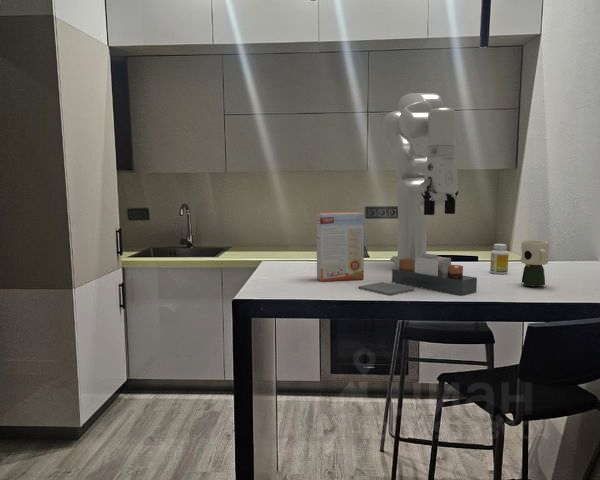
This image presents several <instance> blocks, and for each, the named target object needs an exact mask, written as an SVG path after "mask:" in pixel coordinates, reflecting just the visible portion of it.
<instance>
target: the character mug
mask: <svg viewBox="0 0 600 480" xmlns="http://www.w3.org/2000/svg"><path fill="white" fill-rule="evenodd" d="M549 246H550V242H549V241H545V240H536V239H535V240H531V239H530V240H522V241H521V247H520V249H521V257H520V261H521V263H522V264H523V265H524V264H525V265H524V267H523V273H522V278H521V285H523V286H528V287H535V288H537V287H538V286H545V285H546V277H545V276H546V275H545V268H544V266H543V265H548V263H549V249H550V247H549Z"/></svg>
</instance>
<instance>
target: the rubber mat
mask: <svg viewBox="0 0 600 480" xmlns="http://www.w3.org/2000/svg"><path fill="white" fill-rule="evenodd" d="M358 288H359V290H362V289H364V290H363V291H367V290H369V291H368V292H372V291H373V292H372V293H376V292H377V293H376V294H381V293H382V295H385V294H386V296H390V295H391V296H394V294H396V295H399V294H398V293H401V294H404V293H403V292H405V293H408V291H410V292H414V291H415V287H414V288H413V287H410V286H404V285H399V284H395V283H394V284H393V283H389V282H383V281H382V282H375V283H371V284H365V285H360V286H358V287H357V289H358ZM413 290H414V291H413Z"/></svg>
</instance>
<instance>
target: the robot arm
mask: <svg viewBox="0 0 600 480" xmlns="http://www.w3.org/2000/svg"><path fill="white" fill-rule="evenodd" d="M397 105H398V110H394V111H391V112H388V113H386V115H385V116H384V117H383V121H382V130H383V131H382V132H383V136H384V140H385V141H386V143H387V146H388V148H389V149H390V151H391V154H392V158H393V164H394V169H395V173H396V176H397V179H399V181H398V182H397V184H396V186H395V187H396V188H395V195H396V203H397V216H398V217H397V218H398V220H397V255H396V256H394V255H393V256H391V257H390V259H389V261H390V262H391V263H394V265H393V267H392V269H397V268H399V259H404V258H408V259H415V257H420V256H422V254H427V234H428V233H427V229H428V227H427V226H428V224H427V223H428V222H427V220H428V219H427V217H426V216H435V214H436V213H435V212H436V211H435V210H436V207H437V206H438V207H439V206H444V214H446V215H455V214H456V200H457V199H458V197H457V196H458V194H459V189H460V187H461V186H460V184H459V181H458V180H459V179H458V178H459V177H458V175H459V174H458V165H457V160H456V125H457V124H456V121H457V119H456V117H457V113H456V110H455V109H453V108H451V107H444V103H443V100H442V97H441V96H440V95H439V94H438V93H435V92H434V93H433V92H431V93H430V92H410V93H407V94H405V95H402V97H401V98H400V100H399V102H398V104H397ZM411 139H427V151H426V154H419V153H418V152H417V147H416V145H415V144H414V142H413V141H412V140H411ZM420 207H423V211H422V209H421V208H420Z"/></svg>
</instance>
